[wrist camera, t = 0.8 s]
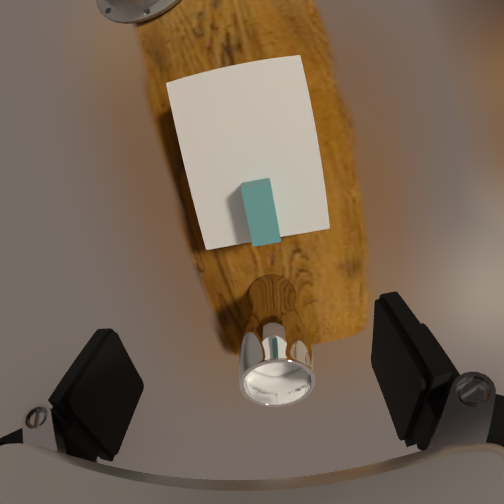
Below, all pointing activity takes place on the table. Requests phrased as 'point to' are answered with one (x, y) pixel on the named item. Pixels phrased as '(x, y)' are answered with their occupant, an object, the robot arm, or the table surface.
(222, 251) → the table surface
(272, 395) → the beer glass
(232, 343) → the table surface
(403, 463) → the robot arm
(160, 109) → the table surface
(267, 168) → the box lid
